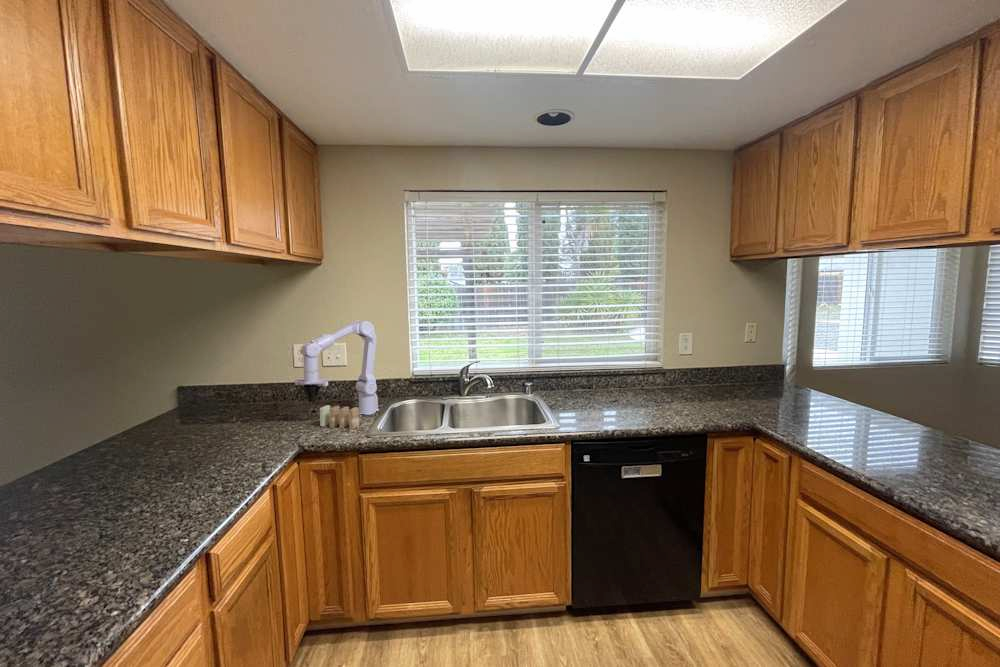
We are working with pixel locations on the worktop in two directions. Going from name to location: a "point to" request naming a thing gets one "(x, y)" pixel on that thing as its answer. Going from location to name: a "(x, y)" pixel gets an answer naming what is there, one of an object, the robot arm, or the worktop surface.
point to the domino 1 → (324, 415)
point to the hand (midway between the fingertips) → (312, 401)
